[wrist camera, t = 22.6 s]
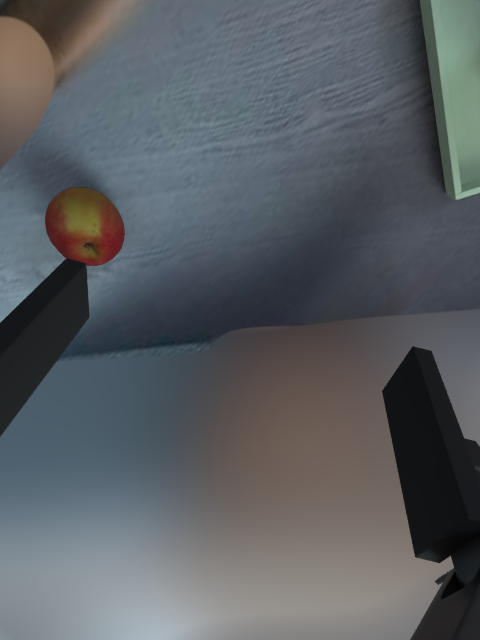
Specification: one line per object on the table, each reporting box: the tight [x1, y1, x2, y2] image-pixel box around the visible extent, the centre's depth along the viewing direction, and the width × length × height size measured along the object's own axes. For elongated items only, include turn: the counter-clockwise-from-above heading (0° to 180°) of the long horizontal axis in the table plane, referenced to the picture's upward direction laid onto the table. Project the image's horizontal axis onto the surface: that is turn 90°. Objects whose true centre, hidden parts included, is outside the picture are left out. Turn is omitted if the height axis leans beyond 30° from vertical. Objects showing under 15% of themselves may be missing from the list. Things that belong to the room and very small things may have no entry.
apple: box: [45, 187, 125, 266], centre depth 41 cm, size 8×8×8 cm
